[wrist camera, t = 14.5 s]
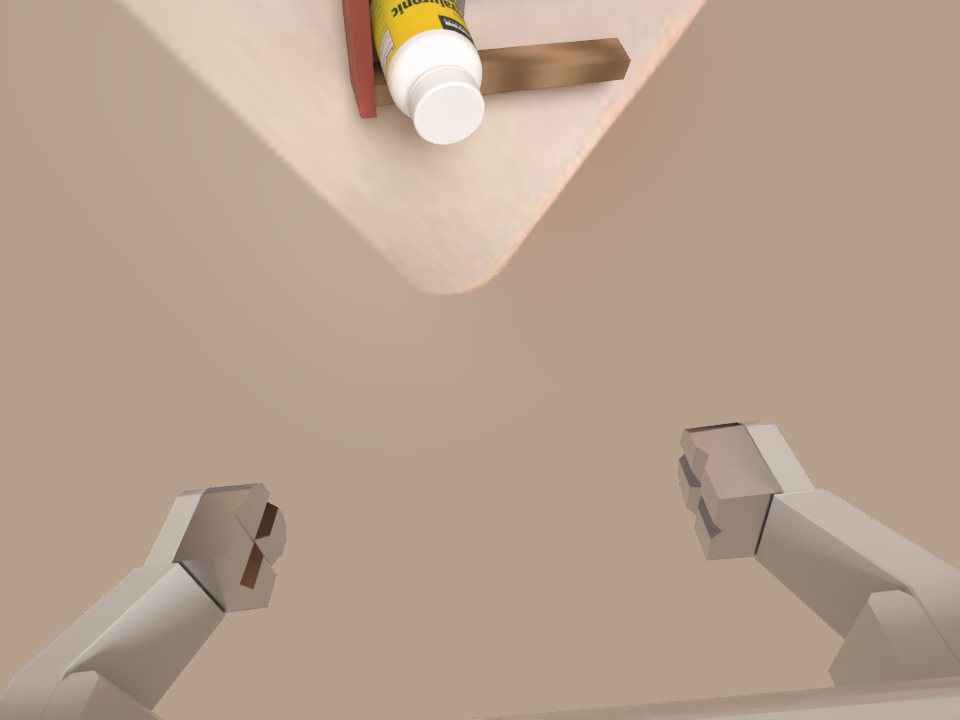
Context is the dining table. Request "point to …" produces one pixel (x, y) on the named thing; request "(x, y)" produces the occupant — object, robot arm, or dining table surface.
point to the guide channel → (486, 63)
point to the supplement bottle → (429, 66)
